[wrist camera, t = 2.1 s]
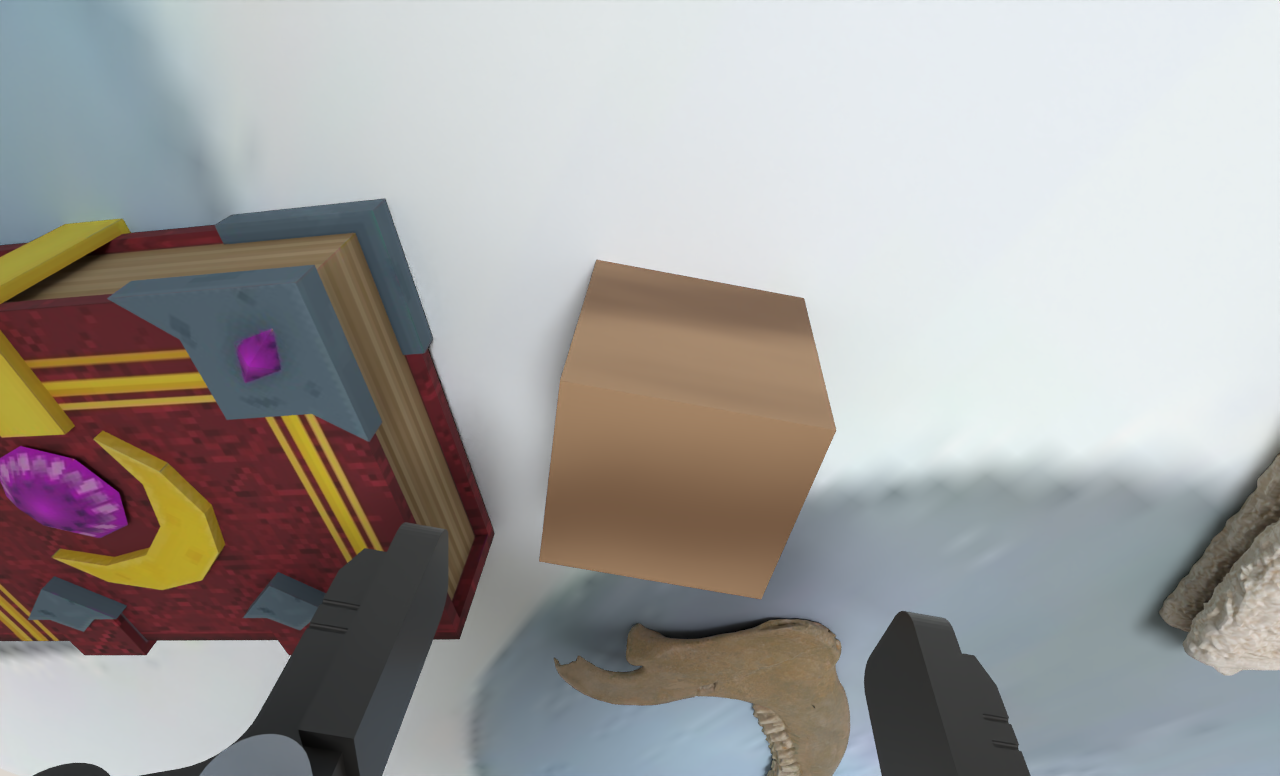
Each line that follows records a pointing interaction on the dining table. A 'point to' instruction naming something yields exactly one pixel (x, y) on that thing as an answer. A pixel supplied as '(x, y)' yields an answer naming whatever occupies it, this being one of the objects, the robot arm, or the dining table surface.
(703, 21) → the dining table surface
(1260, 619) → the washcloth
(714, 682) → the jawbone
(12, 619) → the decorative book
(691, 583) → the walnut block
